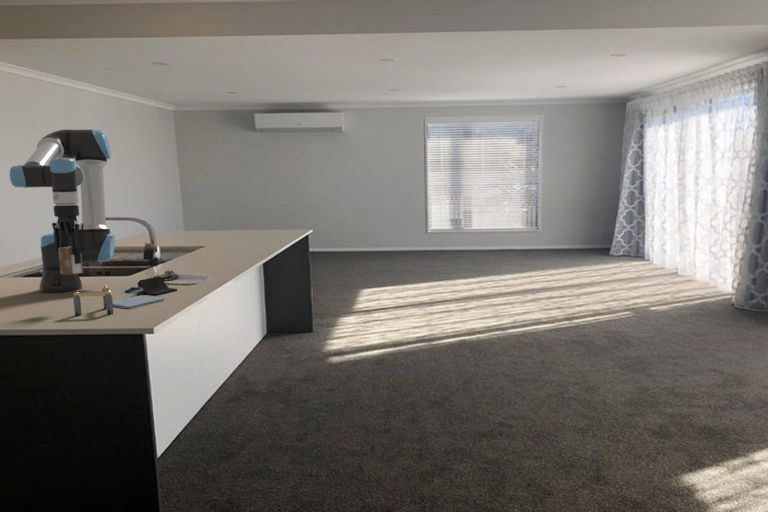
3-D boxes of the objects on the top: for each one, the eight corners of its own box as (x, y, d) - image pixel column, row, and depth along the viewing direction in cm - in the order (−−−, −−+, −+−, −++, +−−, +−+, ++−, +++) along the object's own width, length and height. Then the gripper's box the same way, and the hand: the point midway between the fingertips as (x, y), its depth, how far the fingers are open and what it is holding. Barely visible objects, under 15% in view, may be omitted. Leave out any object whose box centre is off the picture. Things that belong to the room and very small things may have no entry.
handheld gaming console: (160, 292, 227) (148, 270, 228) (148, 302, 228) (135, 281, 230) (179, 290, 238) (167, 270, 239) (167, 300, 239) (155, 280, 241)
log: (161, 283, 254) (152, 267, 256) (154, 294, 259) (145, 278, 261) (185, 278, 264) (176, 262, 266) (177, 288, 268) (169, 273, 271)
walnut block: (60, 273, 203) (58, 247, 202) (73, 271, 208) (71, 246, 206) (69, 274, 201) (67, 248, 200) (83, 272, 205) (81, 246, 204)
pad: (106, 305, 211) (106, 303, 211) (141, 297, 224) (141, 295, 224) (130, 308, 206) (129, 306, 206) (164, 300, 219) (163, 298, 219)
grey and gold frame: (73, 315, 197) (71, 292, 196) (107, 307, 208) (105, 285, 207) (93, 318, 192) (91, 294, 191) (127, 310, 204) (125, 287, 202)
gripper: (38, 204, 202) (44, 272, 205) (72, 205, 194) (78, 275, 197) (59, 203, 209) (65, 269, 212) (93, 204, 200) (98, 272, 203)
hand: (71, 272), depth 204 cm, fingers closed on walnut block, 5 cm apart
